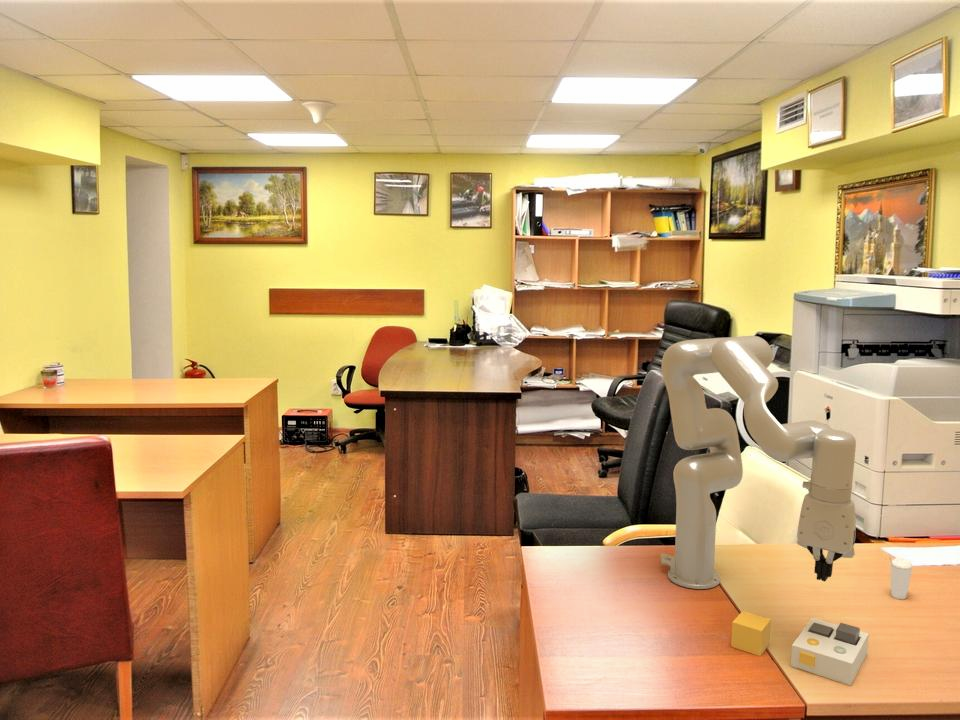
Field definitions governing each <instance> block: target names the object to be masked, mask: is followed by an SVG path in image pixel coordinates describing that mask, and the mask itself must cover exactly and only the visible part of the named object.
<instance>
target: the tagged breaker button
mask: <svg viewBox="0 0 960 720" xmlns="http://www.w3.org/2000/svg"><path fill="white" fill-rule="evenodd" d="M809 632H811V633H815V634H818V635H821V636H825V637H828V638H830V636H831V634H832V632H833V628H832V627H828V626H825V625H821V624H818V623H814V624H813V625H812V627H811V628H810V629H809Z"/></svg>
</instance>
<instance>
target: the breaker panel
mask: <svg viewBox="0 0 960 720" xmlns="http://www.w3.org/2000/svg"><path fill="white" fill-rule="evenodd" d="M814 623H818V624H821V625H825V626H828V627H832V628H833V632H832V634H831V636H830V638H828V637H825V636H821V635H818V634H815V633H811V632H809V629H810V628H811V627H812V625H813V624H814ZM838 626H839V624H836V623H833V622H829V621H825V620H821V619H819V618H815V617H811V618H810V619H809V621H808V623H807V624H806V625H805V626H804V627H803V629H802V631H801V632H800V633H799V635H798V636H797V638H796V639H795V641H793V643H792V645H791V656H790V659H791V660H790V667H793V668H796V669H799V670H802V671H805V672H807V673H810V674H814V675H817V676H820V677H823V678H826V679H829V680H832V681H836V682H838V683H842V684H845V685H848V686H850V687H851V686H852V684H853V682H854V680H855V679H856V676H857V675H858V673H859V670H860V668H861V666H862V665H863V663H864V661H865V659H866V657H867V656H868V647H869V646H868V645H869V635H870V634H869V633H868V632H865V631H861V630H860V634H859V642H858V644H857V645H856V646H855V645H852V644H849V643H845V642H842V641H838V640H835V639H836V629H837V628H838Z"/></svg>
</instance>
